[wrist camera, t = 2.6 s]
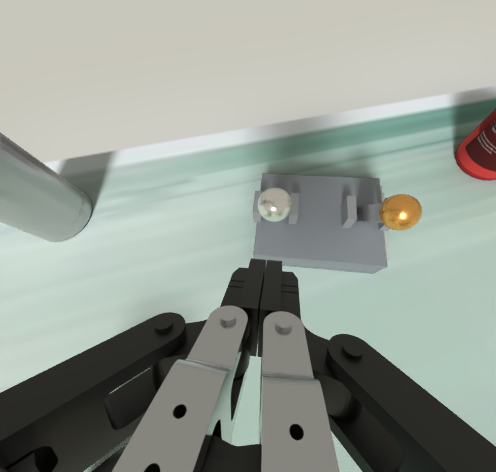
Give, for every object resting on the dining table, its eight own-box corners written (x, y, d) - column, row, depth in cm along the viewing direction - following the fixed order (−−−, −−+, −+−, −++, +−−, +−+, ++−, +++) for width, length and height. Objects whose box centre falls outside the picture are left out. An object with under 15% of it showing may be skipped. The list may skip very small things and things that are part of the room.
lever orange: (349, 226, 30) (386, 229, 20) (351, 201, 30) (390, 191, 20) (376, 228, 30) (428, 232, 19) (378, 202, 30) (433, 193, 19)
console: (252, 262, 33) (248, 247, 27) (260, 188, 37) (258, 161, 31) (378, 274, 31) (404, 260, 25) (372, 194, 35) (393, 166, 29)
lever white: (262, 220, 32) (255, 220, 21) (264, 196, 31) (257, 184, 21) (287, 222, 31) (291, 223, 21) (289, 197, 31) (294, 186, 21)
